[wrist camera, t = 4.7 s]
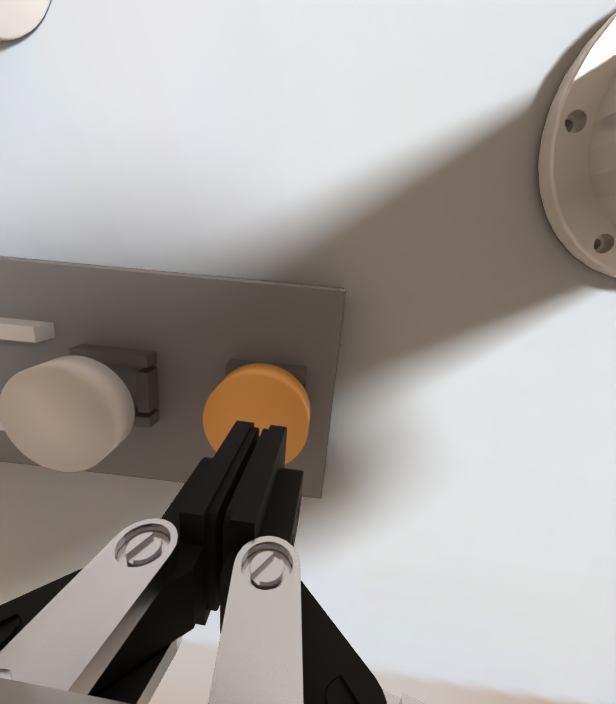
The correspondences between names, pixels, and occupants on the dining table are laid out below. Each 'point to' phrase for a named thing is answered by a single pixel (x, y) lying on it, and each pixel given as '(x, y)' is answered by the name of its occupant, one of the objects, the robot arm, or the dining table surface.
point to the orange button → (259, 405)
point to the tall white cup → (20, 17)
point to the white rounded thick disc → (67, 412)
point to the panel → (171, 350)
